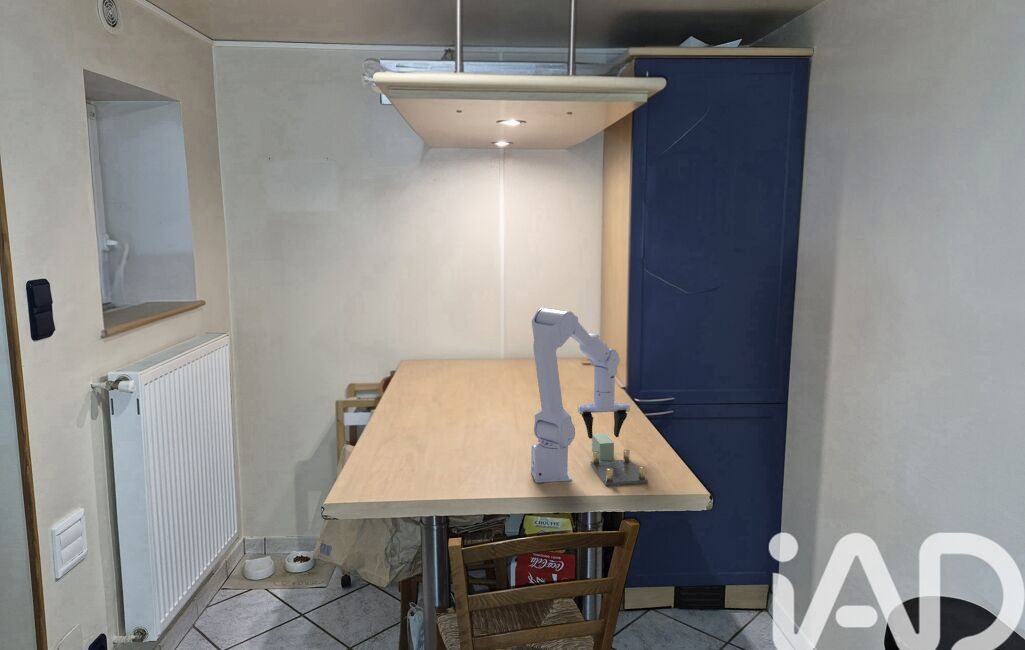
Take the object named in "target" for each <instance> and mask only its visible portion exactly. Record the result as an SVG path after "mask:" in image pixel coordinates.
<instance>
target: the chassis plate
mask: <svg viewBox="0 0 1025 650" xmlns="http://www.w3.org/2000/svg"><path fill="white" fill-rule="evenodd" d="M630 452H631V451H630V450H629V449H627V448H626V449H623V458H622V459H614V460H599V452H598V451H594V452H593V451H592V461H590V467H591V468H592V469H593V470H594V472H595V474H597V477H599V479H600V480H601V482H602V483H603V484H604V486H605V487H610V486H611V487H613V486H630V485H645V484H648V481H649V480H648V478H647V477H646V467H645V466H643V465H641V466H639V467H637V466H636V465H635V464H634V463H633V461H631V459H630V455H631V454H630Z"/></svg>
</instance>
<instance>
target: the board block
mask: <svg viewBox="0 0 1025 650" xmlns="http://www.w3.org/2000/svg"><path fill="white" fill-rule="evenodd" d="M591 441H592V442H591V451H592V453H593V452H594V451H598V452H599V461H611V460H615V458H614V457H615V456H614V455H615V454H614V452H615V442H614V441H613V440H612V438H610V436H608V434H606V433H595V434H593V433H592V440H591Z"/></svg>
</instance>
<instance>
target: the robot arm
mask: <svg viewBox="0 0 1025 650" xmlns="http://www.w3.org/2000/svg"><path fill="white" fill-rule="evenodd" d="M531 328H532V334H533V355H534V361H535V369H536V370H535V371H536V377H537V387H538V391H539V392H538V393H539V399H540V406H541V407H540V408H541V409H539V410H538V411H537V412H536V413H535V414H534V425H533V434H534V436H535V438H537V442H538V443H536V444H532V445H531V450H530V460H531V461H530V463H531V464H530V473H531V476H532V477H533V480H534V482H535V483H537V484H538V483H551V482H552V483H553V482H569V481H570V482H571V481H572V480H573V478H572V476H571V474H570V473H569V472H568V471H569V465H568V463H569V446H571V444H572V442H573V441H574V440H575V436H576V428H575V424H574V423H573V421H572V416H571V415H570V414H569V412H568V411H567V410H566V409H565V408H564V406H563V399H562V391H561V382H560V380H561V379H560V373H559V366H558V358H557V350H558V349H559V348H561V347H563V346H564V344H565V343H566V342H567V341H568V340H569V339H570V337H571V338H572V339H573V340H574V341H576V342H577V343H578V344H579V349H580V351H581V352H582V353H583V354H584V355H585V356H586V357H587V358H589V363H590V365H591V366H592V367H594V371H593V372H594V374H593V375H594V376H593V380H594V381H593V403H588V404H582V405H577V413H578V414H579V415H581V417H582V420H583V422H584V424H585V427H586V428H585V429H586V433H587V437H588V439H590V440H591V439H592V434H593V424H594V423H593V422H594V417H593V414H594V413H595V414H596V413H597V414H598V413H612V412H613V421H614V424H613V425H614V427H613V435H614V437H615V438H619V436H620V433H621V428H622V426H623V424H624V422H625V420H626V419H627V417H628V413H629V412H631V411H630V409H631V405H630V404H629V403H627V402H626V403H625V402H623V403H622V402H620V403H619V402H615V390H616V389H615V385H616V375H617V373H618V368H619V364H620V361H621V357H620V355H619V353H618V352H617V350H616V349H613V348H609V347H608V344H607V343H606V342H603V341H602V340H601V339H600V335H599V334H597V333H589V332H588V331H587V330H586V329H585V328H584V327H583V325H582V324H581V323H580V322H579V317H578V316H577V315H576V314H575V313H574V312H572V311H566V310H565V311H564V310H557V309H549V308H545V307H541V308H539V309H538V310H537V311H536V312H535V314H534V315H533V318H532V319H531Z"/></svg>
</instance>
